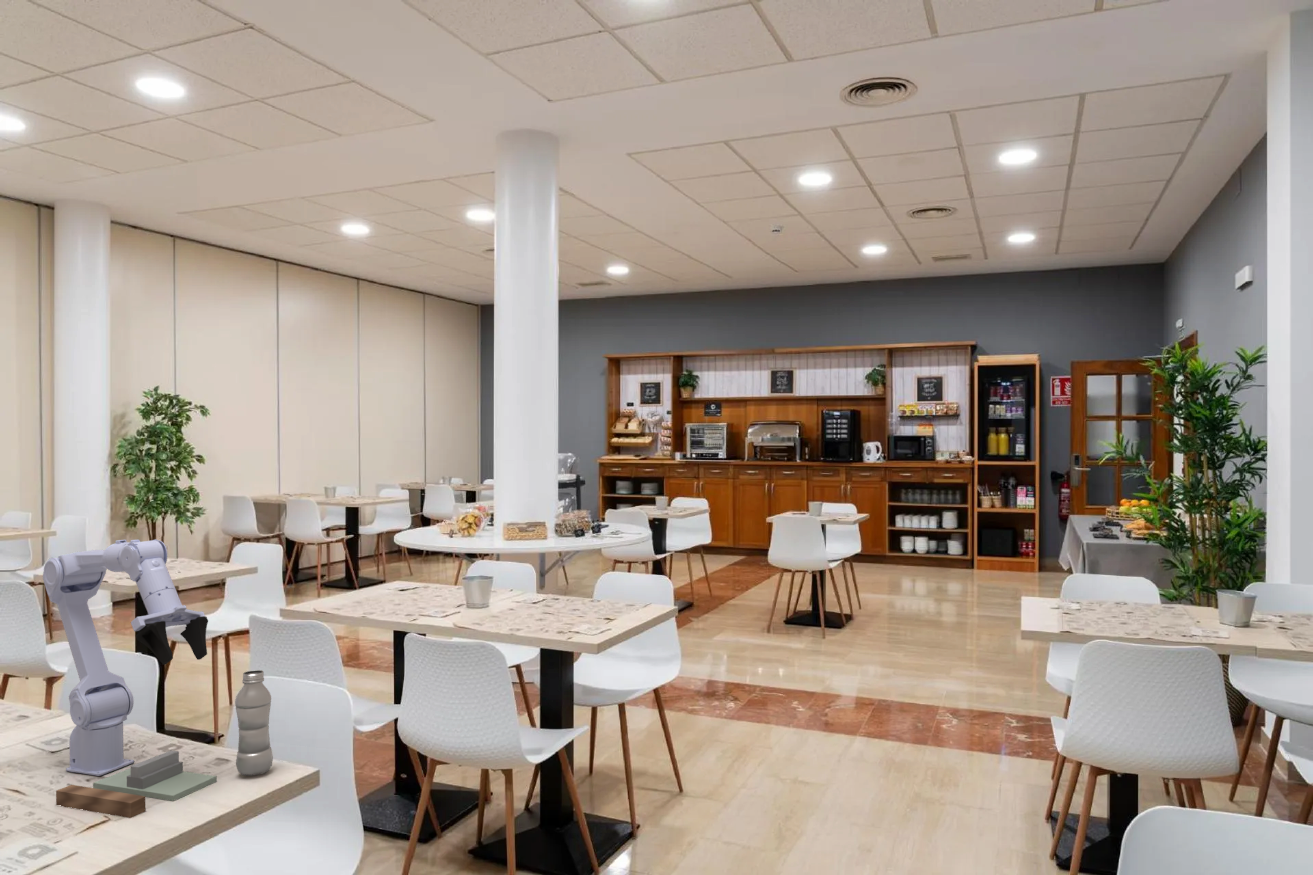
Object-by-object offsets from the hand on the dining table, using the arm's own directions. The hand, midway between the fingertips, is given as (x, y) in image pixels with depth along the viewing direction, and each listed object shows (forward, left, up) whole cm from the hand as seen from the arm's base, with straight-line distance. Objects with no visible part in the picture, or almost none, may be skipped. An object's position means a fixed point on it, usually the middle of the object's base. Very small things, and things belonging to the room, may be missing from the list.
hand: (185, 659), depth 168 cm
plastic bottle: (+4, +12, -25) cm, 29 cm away
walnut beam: (-10, -10, -26) cm, 29 cm away
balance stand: (-10, +2, -25) cm, 27 cm away
